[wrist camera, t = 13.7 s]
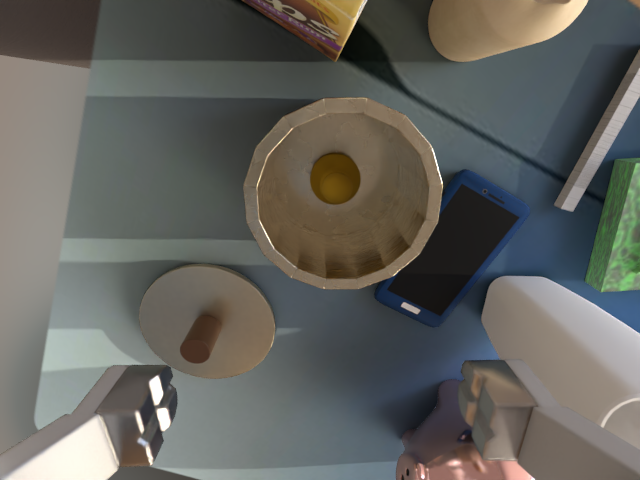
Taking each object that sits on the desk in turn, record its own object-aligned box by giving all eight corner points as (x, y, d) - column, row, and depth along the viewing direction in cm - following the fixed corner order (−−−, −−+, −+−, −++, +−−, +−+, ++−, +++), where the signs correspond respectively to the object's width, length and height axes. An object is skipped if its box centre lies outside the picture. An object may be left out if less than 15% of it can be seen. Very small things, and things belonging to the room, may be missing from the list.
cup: (482, 264, 31) (612, 394, 17) (560, 266, 31) (753, 396, 17) (466, 330, 34) (569, 487, 20) (539, 332, 34) (690, 489, 20)
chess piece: (364, 192, 28) (373, 210, 23) (318, 206, 28) (319, 226, 24) (351, 145, 27) (358, 154, 22) (303, 160, 27) (300, 172, 22)
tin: (260, 99, 26) (235, 98, 18) (413, 99, 26) (455, 97, 18) (269, 241, 30) (252, 290, 22) (400, 240, 30) (429, 289, 22)
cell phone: (370, 295, 32) (372, 300, 31) (461, 164, 27) (465, 166, 27) (434, 326, 33) (436, 331, 33) (530, 206, 29) (535, 208, 28)
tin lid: (132, 260, 31) (101, 286, 26) (272, 260, 31) (265, 285, 26) (158, 370, 35) (135, 408, 31) (279, 369, 35) (273, 407, 31)
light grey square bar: (641, 44, 25) (653, 42, 24) (654, 49, 25) (667, 47, 24) (552, 205, 29) (560, 208, 28) (564, 208, 29) (572, 211, 28)
